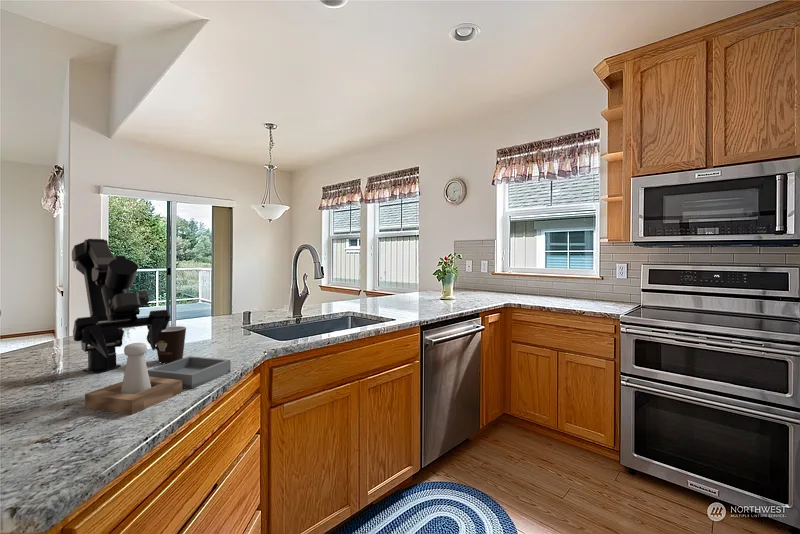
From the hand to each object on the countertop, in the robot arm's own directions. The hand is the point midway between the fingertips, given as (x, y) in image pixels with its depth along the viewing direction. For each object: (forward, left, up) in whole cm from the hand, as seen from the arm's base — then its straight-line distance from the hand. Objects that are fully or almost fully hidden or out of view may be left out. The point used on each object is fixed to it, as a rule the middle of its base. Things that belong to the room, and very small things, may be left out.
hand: (131, 352), depth 89 cm
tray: (+3, +15, -10) cm, 18 cm away
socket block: (+3, -1, -10) cm, 11 cm away
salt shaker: (+3, -1, -11) cm, 11 cm away
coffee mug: (-17, +27, -11) cm, 33 cm away
